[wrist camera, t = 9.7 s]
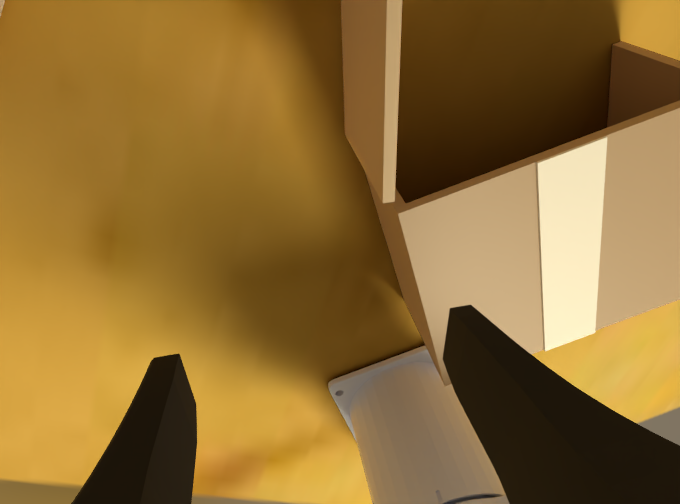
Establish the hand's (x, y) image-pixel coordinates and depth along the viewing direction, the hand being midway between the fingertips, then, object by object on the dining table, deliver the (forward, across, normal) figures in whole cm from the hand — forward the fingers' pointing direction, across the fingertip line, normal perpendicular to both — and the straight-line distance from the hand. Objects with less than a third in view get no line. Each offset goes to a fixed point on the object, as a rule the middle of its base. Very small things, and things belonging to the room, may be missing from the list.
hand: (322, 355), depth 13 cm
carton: (+10, -10, +2) cm, 15 cm away
